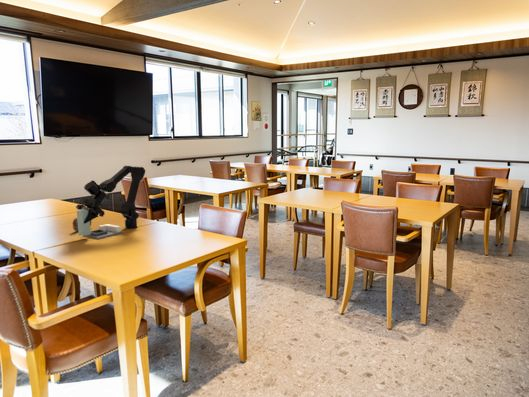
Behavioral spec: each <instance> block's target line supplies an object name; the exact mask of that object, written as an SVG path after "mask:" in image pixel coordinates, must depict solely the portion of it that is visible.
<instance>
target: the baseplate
mask: <svg viewBox="0 0 529 397" xmlns="http://www.w3.org/2000/svg"><path fill="white" fill-rule="evenodd" d="M90 231H91V234H89V235H85V236H84V237H87V238H91V239H95V240H102V239H105V238H109V237H112V236H113V237H114V236H116V235H120V234H124V233H125V231H124V230H122V227H121V226H120V225H115V224H111V223H110V224H109V223H106V224H101V225H98V227H97V229H95V230H90Z"/></svg>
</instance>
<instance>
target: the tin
mask: <svg viewBox="0 0 529 397" xmlns="http://www.w3.org/2000/svg"><path fill="white" fill-rule="evenodd" d="M91 225H92V220H91V221H90V227H91ZM72 229H73V231H75V232H78V220H77V217H76V218H73V220H72Z"/></svg>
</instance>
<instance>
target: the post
mask: <svg viewBox="0 0 529 397" xmlns="http://www.w3.org/2000/svg"><path fill="white" fill-rule="evenodd" d="M87 215H88V210H87V209H82V210H78V209H76V218H77V220H78V231H77V233H78V234H77V235H78V236H82V237H86V236H85V235H89V234H91V231H92V230H91V226H90V221H89V222H87V223H84V221H85V219H86V217H87Z"/></svg>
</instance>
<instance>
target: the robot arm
mask: <svg viewBox="0 0 529 397" xmlns="http://www.w3.org/2000/svg"><path fill="white" fill-rule="evenodd" d="M129 174H130V177H131V182H130V185H129V191H128V194H127V199H126V202H125V203H121V208H120V212H121V215H122V217H123V218H124V227H125V228H126V229H127V230H129V229H138V227H139V226H138V222H137V221H138V219H139V218H140V214H139V213H138V212H137V211H136V209H137V207H136V203H135V202H136V199H137V194H138V191H139V186H140V183H141V181H142V179H144V176H145V174H146V169H145V167H143V166H137V165H136V166H135V165H134V166H131V165H124V166H123V167H122V168H121V169H120V170H119V171H118V172H116V173H115V174H114V175H113V176H111V177H110V178H109V179H105V180H103V181H102V182H100V184H98V183H97V182H96V181H95V180H90V181H89V182H87V183H86V184H84V187H83V188H84V190H85V191H86V192H87V193H89V195H91V196H92V197H91V196H90V197H88V198H87V197H83V196H82V197H80V199H79V201H78V203H79V204H77V205H76V206H75V208H76V210H82V209H87V210H88V215H87V217H86V219H85V221H84V223H87V222H89V221H91V222H92V221H93V220H94V219H96V218H99V217H104V216H105V211H104V209H102V208H101V207H102V206H103V203H104V201H105V199H108V200H109V199H110V196H109V195H110V194H109V193H112V192H113V191H115V189H116V188H117V185H118V184H119V183H120V182H121V181H122V180H123V179H124V178H125V177H126V176H128V175H129Z"/></svg>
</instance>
